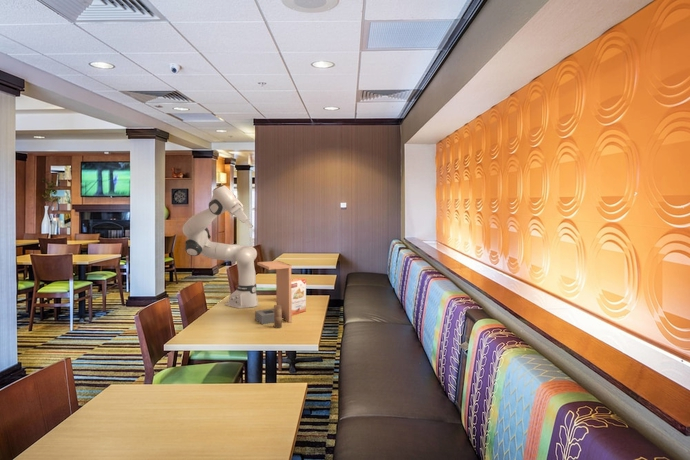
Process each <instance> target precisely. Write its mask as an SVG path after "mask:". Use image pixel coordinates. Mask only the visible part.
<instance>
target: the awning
mask: <svg viewBox="0 0 690 460" xmlns="http://www.w3.org/2000/svg"><path fill="white" fill-rule="evenodd" d="M256 265H257V266H259V267H261V268H265V269H267V270H268V271H269V270H270V271H271V270H276V272H275V275H276V277H275V278H276V279H275V282H276V284H275V285H276V287H275V288H276V296H275V297H276V305H281V306H282V320H285V321H286V322H287V323H289V324H290V323H293V320H292V319H293V315H292V296H291V280H292V265H291V264H289V263H286V262H283V261H280V260H273V261H259V262H257V264H256Z"/></svg>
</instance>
